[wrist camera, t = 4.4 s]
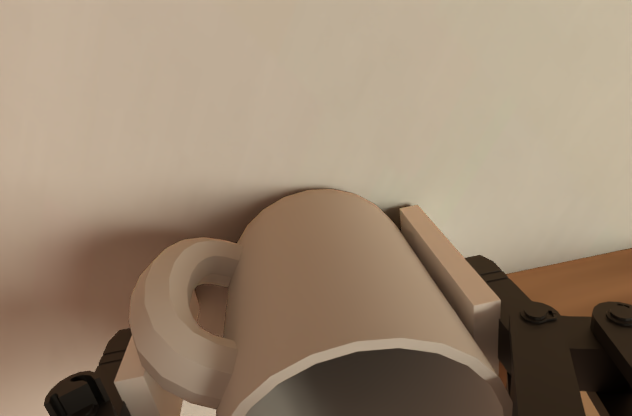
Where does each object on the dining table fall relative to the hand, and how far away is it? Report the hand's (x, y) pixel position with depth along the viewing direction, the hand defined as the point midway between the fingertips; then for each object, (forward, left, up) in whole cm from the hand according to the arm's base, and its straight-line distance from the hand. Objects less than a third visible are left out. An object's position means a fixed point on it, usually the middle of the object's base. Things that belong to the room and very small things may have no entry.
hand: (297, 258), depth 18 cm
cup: (0, 0, -1) cm, 1 cm away
